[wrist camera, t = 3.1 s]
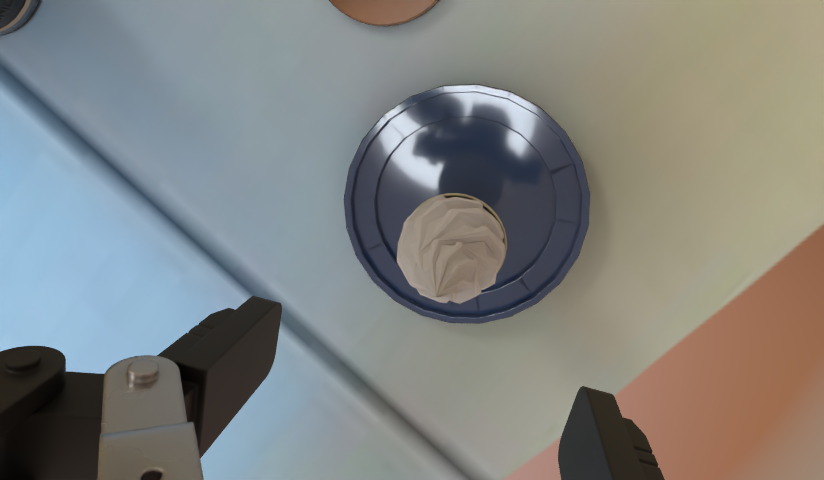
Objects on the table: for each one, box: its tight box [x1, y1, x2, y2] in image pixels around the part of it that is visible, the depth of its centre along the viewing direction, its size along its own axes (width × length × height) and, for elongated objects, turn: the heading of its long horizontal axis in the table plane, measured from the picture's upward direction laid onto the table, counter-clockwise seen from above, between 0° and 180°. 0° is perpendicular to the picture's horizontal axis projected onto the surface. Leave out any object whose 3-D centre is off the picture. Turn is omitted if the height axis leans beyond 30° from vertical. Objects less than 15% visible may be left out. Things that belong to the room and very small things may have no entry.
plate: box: [344, 84, 590, 323], centre depth 32 cm, size 15×15×2 cm
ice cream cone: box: [397, 193, 507, 304], centre depth 25 cm, size 5×5×15 cm
